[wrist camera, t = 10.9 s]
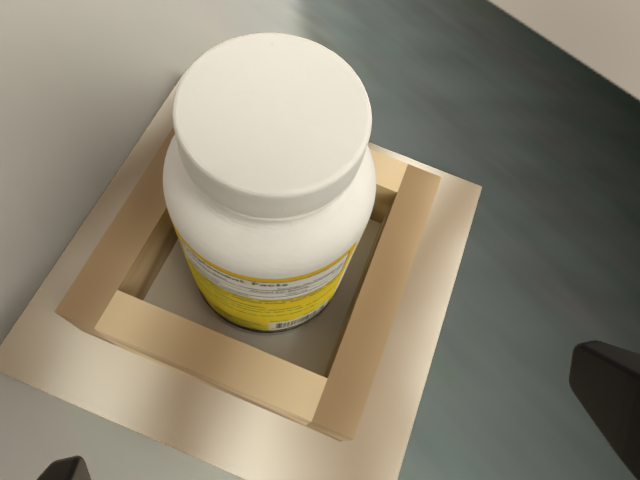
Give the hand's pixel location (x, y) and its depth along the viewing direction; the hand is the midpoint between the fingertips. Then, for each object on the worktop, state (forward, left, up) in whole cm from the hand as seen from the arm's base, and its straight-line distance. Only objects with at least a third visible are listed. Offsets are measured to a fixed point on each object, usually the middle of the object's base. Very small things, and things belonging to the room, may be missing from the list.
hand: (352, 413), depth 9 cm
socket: (+4, -6, -12) cm, 14 cm away
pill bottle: (+4, -6, -11) cm, 13 cm away
